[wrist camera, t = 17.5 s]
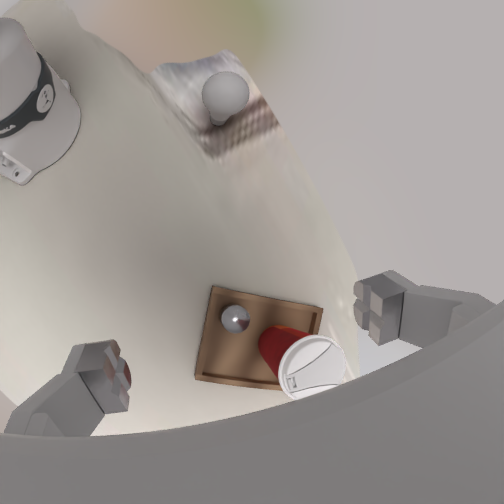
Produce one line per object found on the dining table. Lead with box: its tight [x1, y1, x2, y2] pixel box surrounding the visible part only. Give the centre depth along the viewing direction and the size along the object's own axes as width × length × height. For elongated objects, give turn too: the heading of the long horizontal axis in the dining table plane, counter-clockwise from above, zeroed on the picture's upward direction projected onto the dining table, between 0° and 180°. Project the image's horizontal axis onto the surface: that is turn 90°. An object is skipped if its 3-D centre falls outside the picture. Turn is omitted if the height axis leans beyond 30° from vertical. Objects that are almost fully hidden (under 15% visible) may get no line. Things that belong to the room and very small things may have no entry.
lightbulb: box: [202, 72, 249, 126], centre depth 37 cm, size 6×6×11 cm
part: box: [219, 303, 250, 333], centre depth 39 cm, size 4×4×3 cm
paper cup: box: [258, 325, 346, 400], centre depth 35 cm, size 8×8×14 cm
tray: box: [194, 286, 323, 391], centre depth 41 cm, size 16×13×2 cm
